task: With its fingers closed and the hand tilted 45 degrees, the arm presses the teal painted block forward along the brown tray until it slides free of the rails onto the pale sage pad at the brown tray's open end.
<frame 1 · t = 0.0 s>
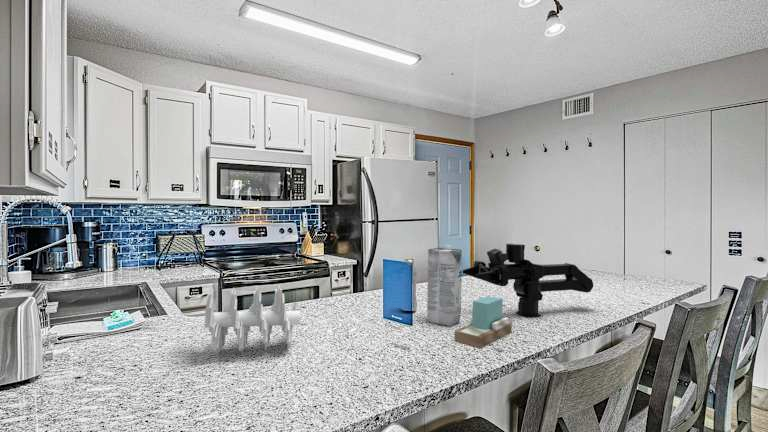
hand: (469, 273, 141), 17 cm above the worktop, tool horizontal, fingers open, 9 cm apart
brown tray: (484, 336, 124), on the worktop
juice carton: (443, 322, 139), on the worktop
teal block: (487, 325, 126), point 3 cm above the worktop, touching brown tray
plastic bottle: (408, 312, 152), on the worktop
white sculpted piece: (253, 349, 111), on the worktop
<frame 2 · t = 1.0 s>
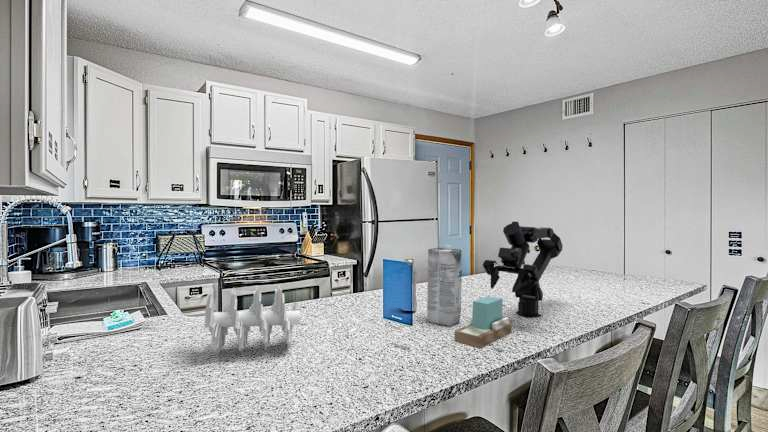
hand: (501, 289, 133), 13 cm above the worktop, tool tilted 45°, fingers open, 7 cm apart
nothing on the worktop moved.
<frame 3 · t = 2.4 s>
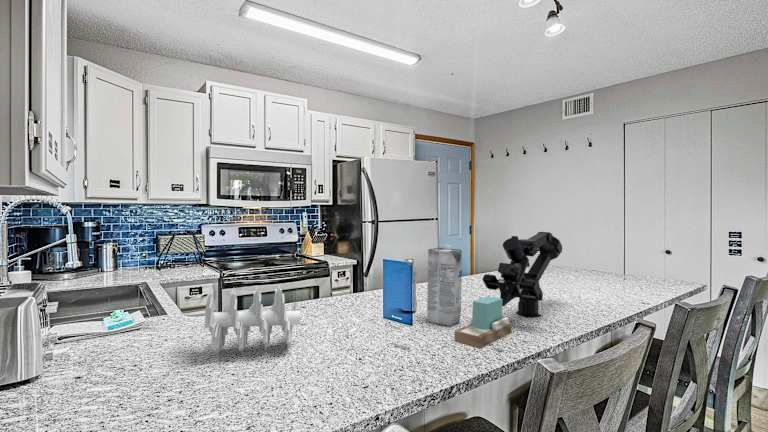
hand: (501, 305, 133), 8 cm above the worktop, tool tilted 45°, fingers closed
nothing on the worktop moved.
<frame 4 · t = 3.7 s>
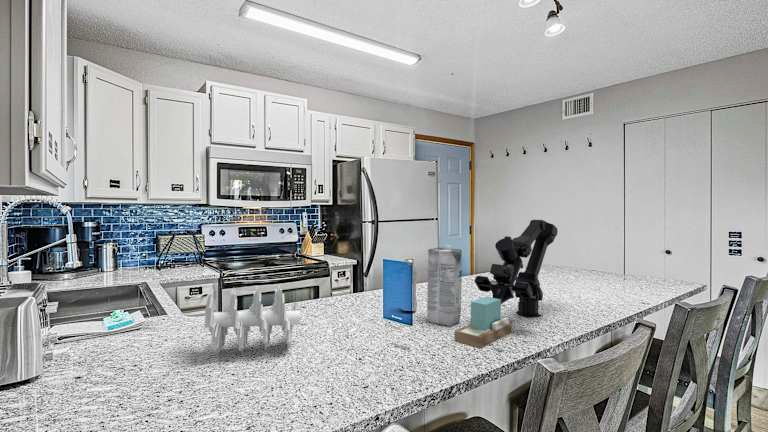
hand: (493, 307, 129), 8 cm above the worktop, tool tilted 45°, fingers closed
teal block: (485, 325, 125), point 3 cm above the worktop
everything else where it was.
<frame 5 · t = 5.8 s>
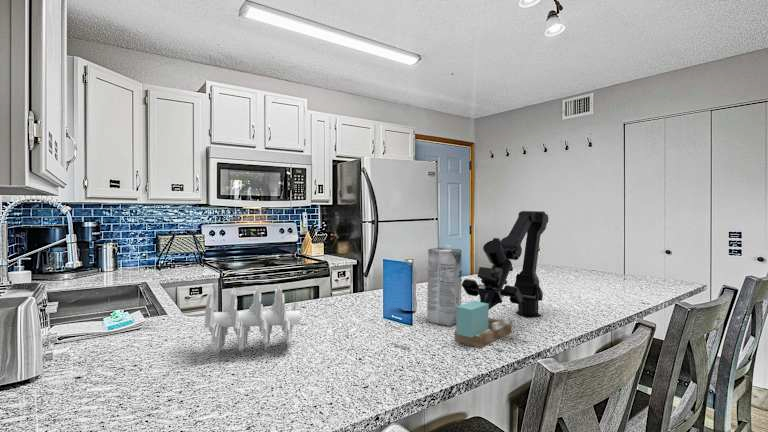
hand: (481, 313, 123), 8 cm above the worktop, tool tilted 45°, fingers closed, pressing on teal block
teal block: (472, 331, 119), point 3 cm above the worktop, touching brown tray, gripper
everything else where it was.
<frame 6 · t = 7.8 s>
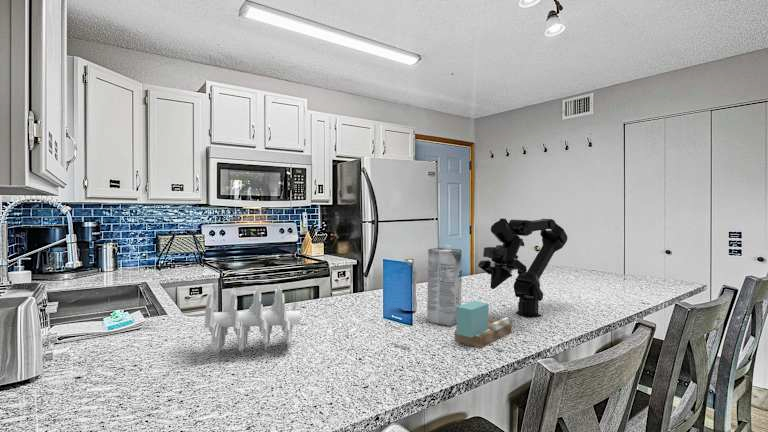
hand: (492, 288, 135), 13 cm above the worktop, tool tilted 35°, fingers closed
teal block: (472, 331, 119), point 3 cm above the worktop, touching brown tray
everything else where it was.
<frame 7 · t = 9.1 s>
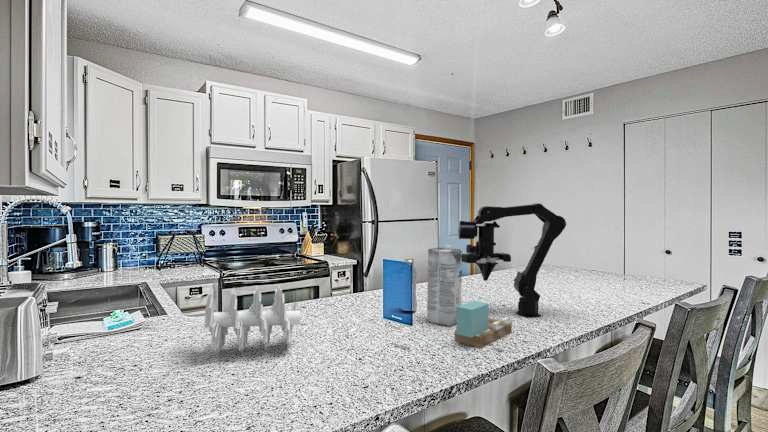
hand: (485, 280, 150), 12 cm above the worktop, tool pointing down, fingers closed
nothing on the worktop moved.
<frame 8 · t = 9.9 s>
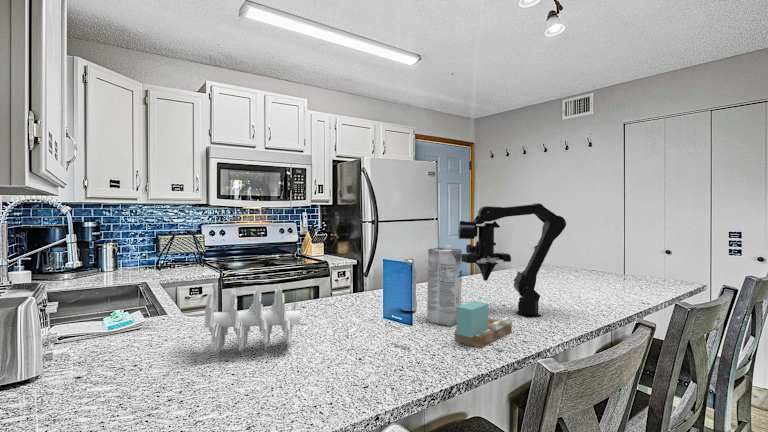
hand: (485, 280, 150), 12 cm above the worktop, tool pointing down, fingers closed
nothing on the worktop moved.
at the end: teal block inside the target area (0.7 cm from its centre), point 3.1 cm above the worktop; teal block moved 9.2 cm from its start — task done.
